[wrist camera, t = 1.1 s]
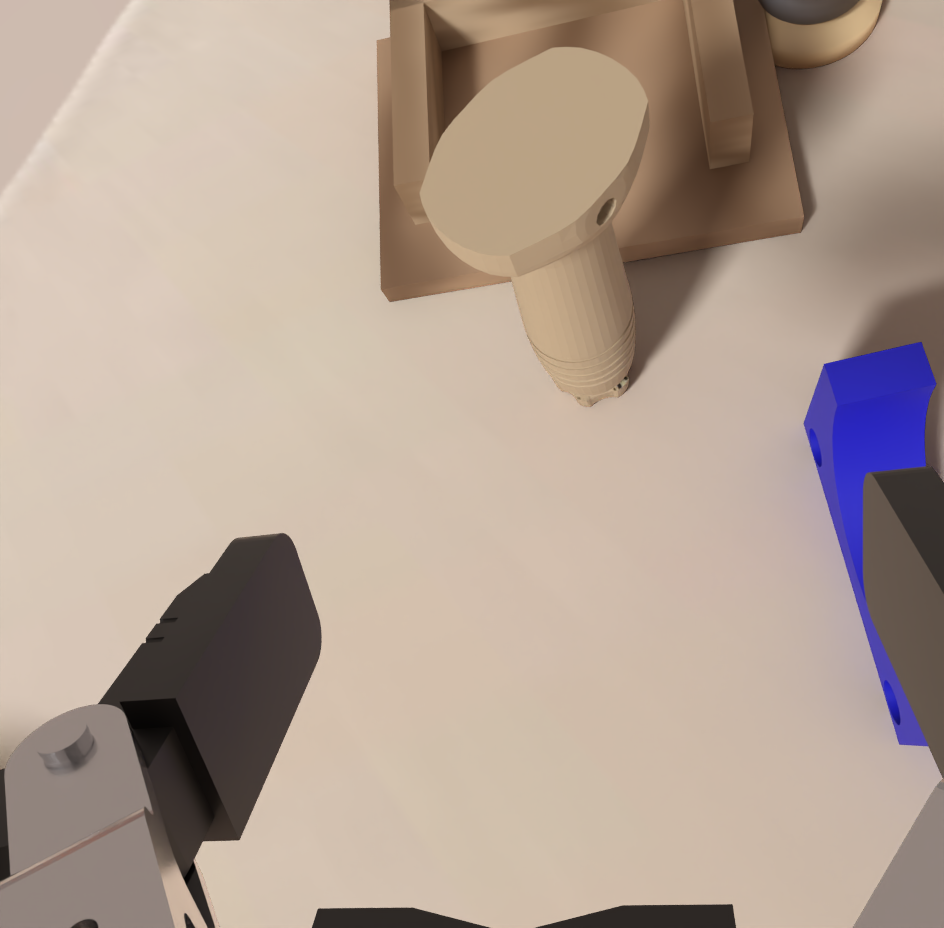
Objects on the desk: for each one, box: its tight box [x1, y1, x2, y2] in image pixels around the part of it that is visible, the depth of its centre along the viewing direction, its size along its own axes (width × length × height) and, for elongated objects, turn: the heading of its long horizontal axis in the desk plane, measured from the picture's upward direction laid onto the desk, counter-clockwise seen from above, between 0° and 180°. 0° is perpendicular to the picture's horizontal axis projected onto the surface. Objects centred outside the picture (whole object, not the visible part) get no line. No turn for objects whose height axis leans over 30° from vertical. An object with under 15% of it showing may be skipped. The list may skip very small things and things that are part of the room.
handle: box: [420, 47, 650, 407], centre depth 29 cm, size 5×6×15 cm
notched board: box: [377, 0, 804, 302], centre depth 38 cm, size 18×14×4 cm
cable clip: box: [804, 342, 936, 746], centre depth 28 cm, size 12×4×6 cm, turn 9°
